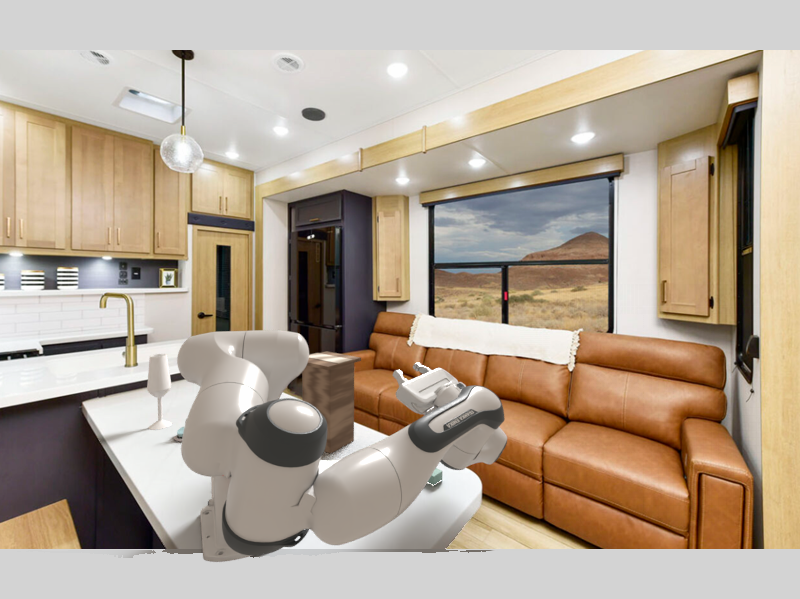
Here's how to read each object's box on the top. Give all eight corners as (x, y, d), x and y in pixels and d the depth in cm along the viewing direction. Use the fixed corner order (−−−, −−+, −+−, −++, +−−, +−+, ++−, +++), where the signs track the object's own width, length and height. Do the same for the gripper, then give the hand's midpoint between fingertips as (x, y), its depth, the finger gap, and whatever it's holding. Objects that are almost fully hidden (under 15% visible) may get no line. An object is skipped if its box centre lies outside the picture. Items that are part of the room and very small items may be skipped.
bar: (442, 482, 87) (442, 471, 87) (433, 488, 85) (433, 476, 85) (389, 455, 101) (389, 445, 100) (380, 459, 98) (380, 449, 98)
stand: (360, 439, 109) (361, 356, 108) (327, 457, 98) (327, 366, 96) (326, 427, 118) (326, 350, 116) (293, 443, 106) (292, 358, 105)
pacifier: (182, 445, 105) (202, 436, 110) (181, 425, 104) (201, 417, 109) (169, 439, 108) (188, 431, 113) (167, 420, 108) (187, 413, 113)
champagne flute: (151, 422, 119) (149, 353, 118) (174, 420, 122) (172, 352, 120) (145, 431, 113) (143, 358, 112) (169, 428, 116) (167, 356, 114)
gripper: (418, 427, 77) (376, 387, 84) (457, 401, 94) (419, 369, 101) (430, 407, 75) (386, 366, 82) (468, 383, 92) (429, 352, 98)
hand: (405, 368), depth 91 cm, fingers open, 8 cm apart
